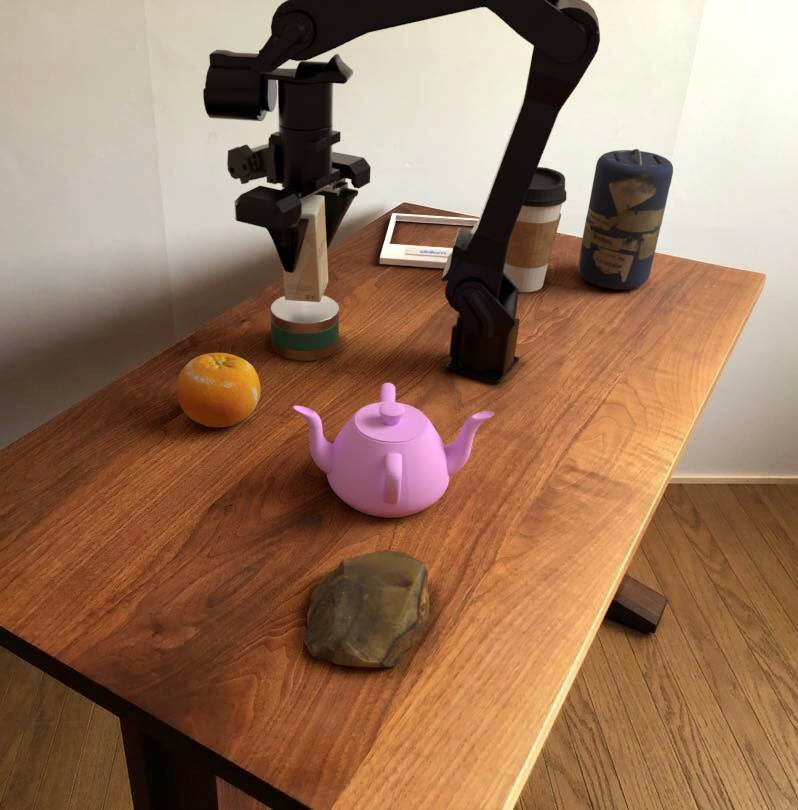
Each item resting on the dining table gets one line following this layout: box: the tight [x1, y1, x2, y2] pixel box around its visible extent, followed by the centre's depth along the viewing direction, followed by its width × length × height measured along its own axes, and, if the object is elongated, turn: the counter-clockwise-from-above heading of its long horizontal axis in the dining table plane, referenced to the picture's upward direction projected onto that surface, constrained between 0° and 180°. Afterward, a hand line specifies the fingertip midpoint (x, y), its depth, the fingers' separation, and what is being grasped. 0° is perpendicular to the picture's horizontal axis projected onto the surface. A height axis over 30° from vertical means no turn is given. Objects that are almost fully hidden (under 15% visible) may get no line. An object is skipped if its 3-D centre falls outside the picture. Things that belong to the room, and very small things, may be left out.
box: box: [281, 195, 329, 302], centre depth 103 cm, size 5×4×11 cm
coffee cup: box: [503, 166, 568, 293], centre depth 121 cm, size 8×8×15 cm
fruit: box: [176, 352, 261, 428], centre depth 95 cm, size 8×8×8 cm
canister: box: [577, 148, 674, 290], centre depth 121 cm, size 10×10×18 cm
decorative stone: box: [303, 549, 430, 668], centre depth 71 cm, size 10×9×4 cm
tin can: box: [270, 295, 340, 362], centre depth 108 cm, size 8×8×5 cm
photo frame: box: [379, 212, 479, 270], centre depth 136 cm, size 15×1×18 cm
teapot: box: [293, 382, 495, 519], centre depth 84 cm, size 12×14×9 cm
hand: (305, 261), depth 104 cm, fingers closed on box, 6 cm apart
